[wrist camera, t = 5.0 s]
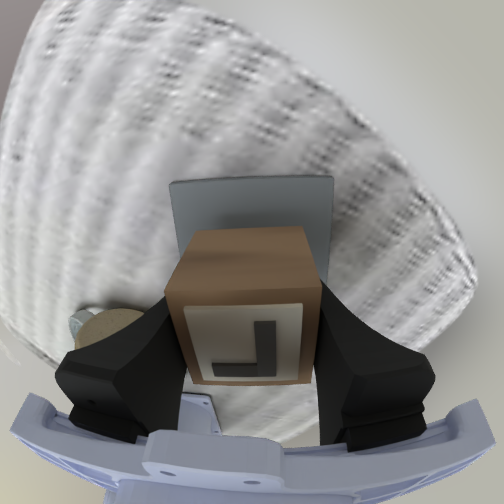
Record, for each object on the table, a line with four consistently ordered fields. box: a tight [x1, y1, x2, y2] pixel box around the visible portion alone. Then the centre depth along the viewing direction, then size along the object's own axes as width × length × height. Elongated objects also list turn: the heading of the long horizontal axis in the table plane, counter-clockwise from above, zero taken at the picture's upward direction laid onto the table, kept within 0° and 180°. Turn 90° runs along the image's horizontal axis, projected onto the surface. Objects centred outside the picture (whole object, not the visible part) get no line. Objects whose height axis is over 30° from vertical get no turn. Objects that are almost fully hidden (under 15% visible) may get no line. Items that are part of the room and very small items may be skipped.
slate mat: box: [169, 176, 334, 285], centre depth 17 cm, size 9×9×1 cm
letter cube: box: [164, 226, 322, 386], centre depth 12 cm, size 5×5×5 cm
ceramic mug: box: [68, 308, 144, 350], centre depth 18 cm, size 11×8×8 cm
